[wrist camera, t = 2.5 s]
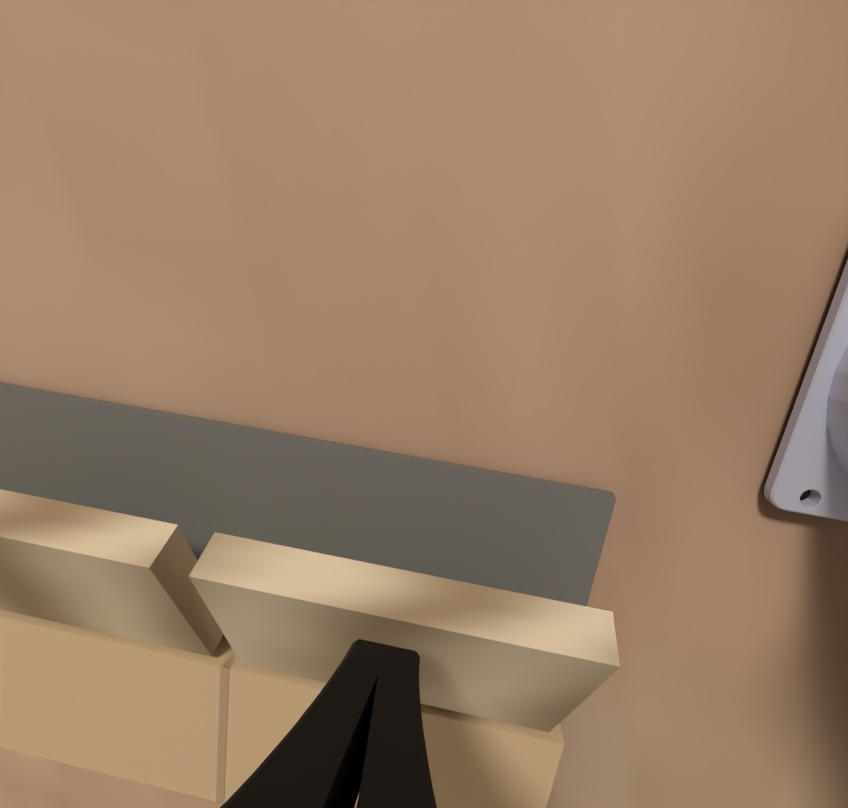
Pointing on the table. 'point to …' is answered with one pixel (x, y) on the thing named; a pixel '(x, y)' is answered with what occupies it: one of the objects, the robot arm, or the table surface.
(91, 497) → the floor base
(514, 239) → the table surface
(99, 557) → the plank
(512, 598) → the plank
